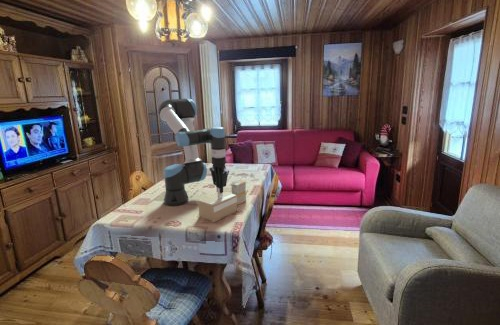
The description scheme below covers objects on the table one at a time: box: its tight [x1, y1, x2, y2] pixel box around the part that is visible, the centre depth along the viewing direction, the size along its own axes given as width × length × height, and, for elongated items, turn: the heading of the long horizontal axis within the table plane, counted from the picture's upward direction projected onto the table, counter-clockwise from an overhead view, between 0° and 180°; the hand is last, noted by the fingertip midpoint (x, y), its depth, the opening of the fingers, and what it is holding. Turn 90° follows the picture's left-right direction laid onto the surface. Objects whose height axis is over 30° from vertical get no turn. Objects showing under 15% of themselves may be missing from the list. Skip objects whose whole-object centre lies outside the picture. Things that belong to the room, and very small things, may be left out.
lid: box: [197, 191, 236, 207], centre depth 157 cm, size 12×18×1 cm, turn 141°
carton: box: [197, 197, 238, 223], centre depth 158 cm, size 12×18×9 cm
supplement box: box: [230, 180, 247, 206], centre depth 174 cm, size 8×5×13 cm, turn 141°
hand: (220, 198), depth 156 cm, fingers closed
